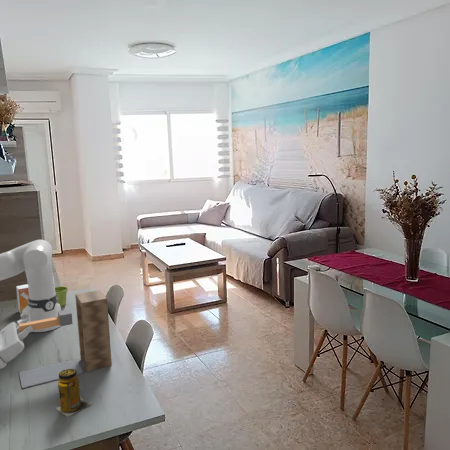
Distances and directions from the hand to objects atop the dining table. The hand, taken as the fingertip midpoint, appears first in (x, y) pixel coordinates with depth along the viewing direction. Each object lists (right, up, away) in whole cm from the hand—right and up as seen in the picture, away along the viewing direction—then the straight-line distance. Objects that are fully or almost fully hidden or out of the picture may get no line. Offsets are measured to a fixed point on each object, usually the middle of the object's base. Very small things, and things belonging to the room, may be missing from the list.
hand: (31, 325), depth 154 cm
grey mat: (+5, -19, +6) cm, 20 cm away
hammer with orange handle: (+4, -1, +3) cm, 5 cm away
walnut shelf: (+19, -17, +13) cm, 29 cm away
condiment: (+20, -22, -15) cm, 33 cm away
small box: (-31, -9, +68) cm, 75 cm away
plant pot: (-18, -7, +75) cm, 77 cm away
